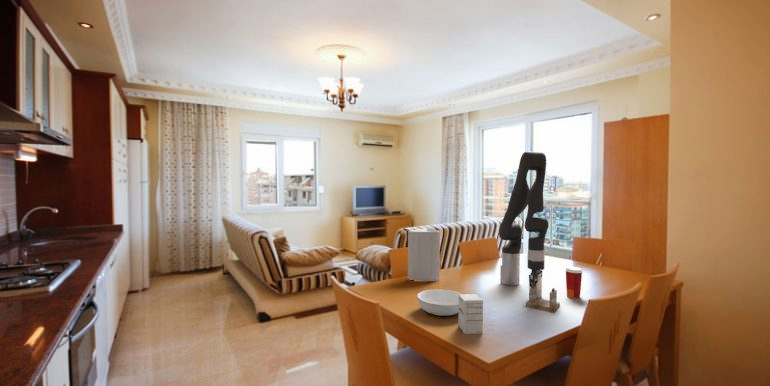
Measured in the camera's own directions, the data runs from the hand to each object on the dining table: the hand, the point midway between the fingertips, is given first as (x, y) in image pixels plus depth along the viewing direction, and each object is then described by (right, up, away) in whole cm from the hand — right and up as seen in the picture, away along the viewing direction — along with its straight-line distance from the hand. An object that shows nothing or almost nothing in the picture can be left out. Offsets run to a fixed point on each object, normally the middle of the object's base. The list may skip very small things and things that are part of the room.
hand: (535, 293), depth 176 cm
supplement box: (-40, -3, -38) cm, 56 cm away
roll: (0, -2, 0) cm, 2 cm away
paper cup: (+19, -2, +2) cm, 19 cm away
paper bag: (-48, -1, +34) cm, 59 cm away
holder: (-1, -2, -11) cm, 12 cm away
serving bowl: (-48, -3, -19) cm, 52 cm away
